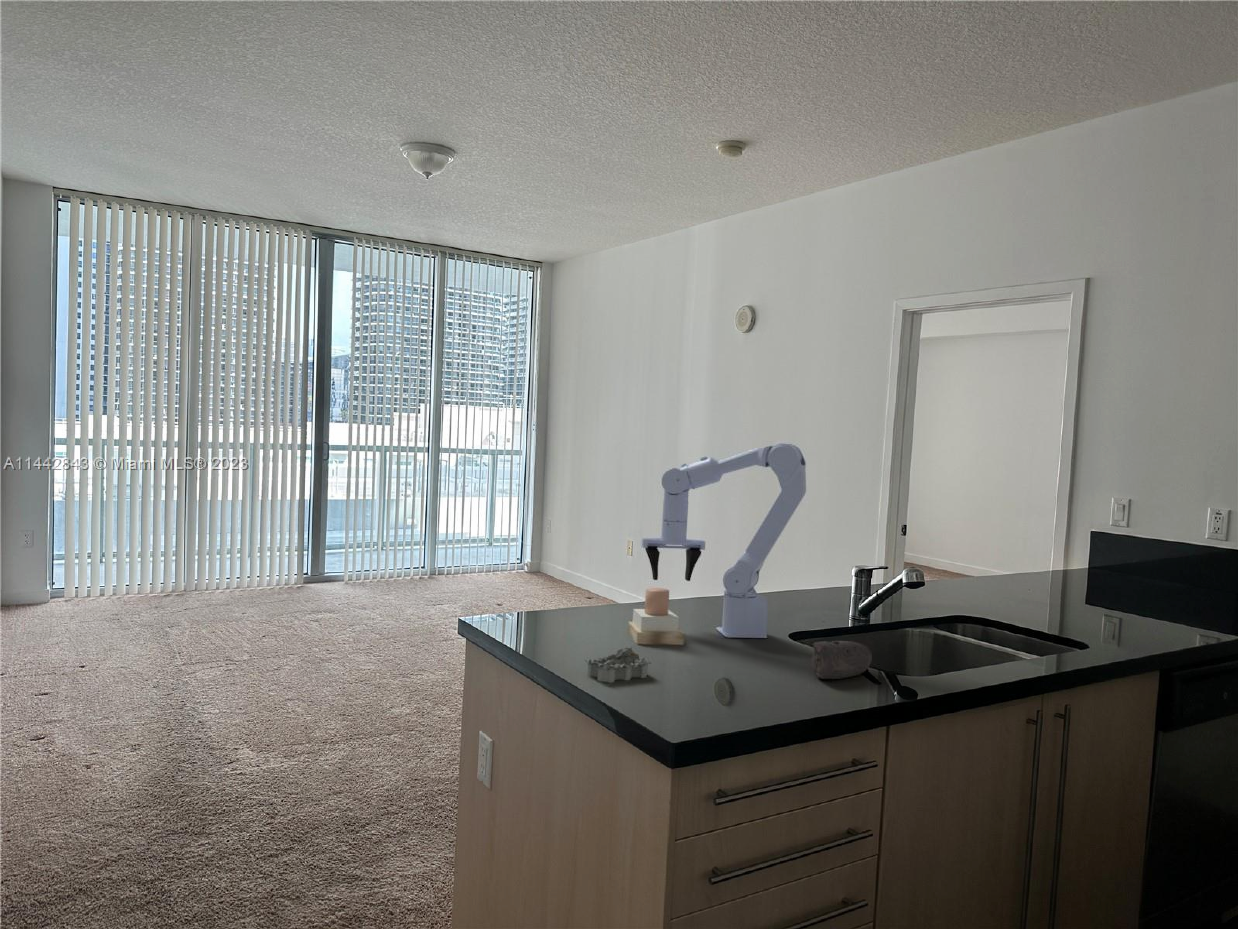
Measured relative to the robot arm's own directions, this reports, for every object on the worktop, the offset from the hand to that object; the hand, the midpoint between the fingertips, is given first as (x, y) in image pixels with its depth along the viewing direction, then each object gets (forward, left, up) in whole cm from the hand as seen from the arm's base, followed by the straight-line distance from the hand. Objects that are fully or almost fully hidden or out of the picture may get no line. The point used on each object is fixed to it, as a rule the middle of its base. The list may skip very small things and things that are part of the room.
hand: (671, 579), depth 189 cm
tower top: (+6, +13, -8) cm, 16 cm away
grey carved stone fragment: (+18, +40, -11) cm, 45 cm away
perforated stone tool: (-24, +40, -11) cm, 48 cm away
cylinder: (+6, +13, -5) cm, 15 cm away
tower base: (+6, +13, -11) cm, 18 cm away
